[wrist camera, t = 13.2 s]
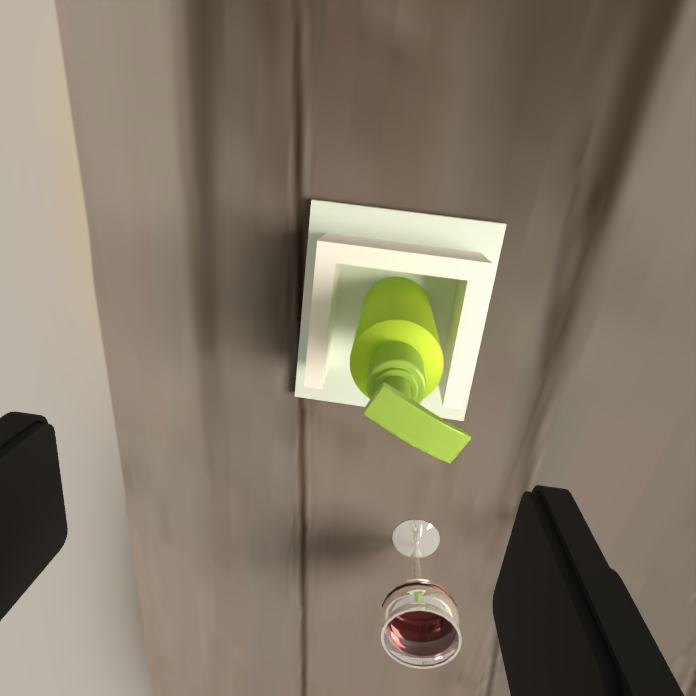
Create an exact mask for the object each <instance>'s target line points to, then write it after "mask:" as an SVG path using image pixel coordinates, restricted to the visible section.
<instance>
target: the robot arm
mask: <svg viewBox="0 0 696 696" xmlns="http://www.w3.org/2000/svg"><path fill="white" fill-rule="evenodd" d="M66 537H67V521H66V513H65V506H64V498H63V491H62V483H61V475H60V468H59V460H58V452H57V445H56V437H55V431H54V428H53V426H52V425H50V424H48V422H47V420H46V418H45V417H43V416H41V415H35V414H28V413H21V412H10V413H7V414H5V415H4V416H2V417H1V418H0V621H1V619H2V618H3V617H4V616H5V615H6V614H7V612H8V611H9V610H10V609H11V608H12V606H13V605H14V604H15V603H16V602H17V600H18V599H19V598H20V597H21V596H22V594H23V593H24V592H25V591H26V590H27V589H28V587H29V586H30V585H31V584H32V583H33V582H34V580H35V579H36V578H37V577H38V576H39V574H40V573H41V572H42V571H43V570H44V568H45V567H46V566H47V565H48V564H49V562H50V561H51V560H52V559H53V558H54V557H55V555H56V554H57V553H58V552H59V551H60V549H61V548H62V546H63V545H64V543H65V540H66ZM493 615H494V620H495V624H496V629H497V634H498V638H499V643H500V648H501V652H502V657H503V661H504V666H505V671H506V675H507V680H508V684H509V689H510V694H511V696H684V695H683V693H682V691H681V689H680V687H679V685H678V683H677V681H676V680H675V678H674V676H673V674H672V672H671V670H670V668H669V667H668V665H667V663H666V661H665V659H664V657H663V655H662V654H661V652H660V650H659V648H658V646H657V644H656V642H655V640H654V639H653V637H652V635H651V633H650V631H649V629H648V627H647V626H646V624H645V622H644V620H643V618H642V616H641V614H640V613H639V611H638V609H637V607H636V605H635V603H634V601H633V599H632V598H631V596H630V594H629V592H628V590H627V588H626V586H625V585H624V583H623V581H622V579H621V578H620V576H619V575H618V573H617V572H616V571H614V570H613V569H611V568H610V567H609V565H608V563H607V562H606V560H605V558H604V556H603V554H602V552H601V550H600V548H599V546H598V544H597V542H596V540H595V539H594V537H593V535H592V533H591V531H590V529H589V527H588V525H587V523H586V521H585V519H584V518H583V516H582V514H581V512H580V510H579V508H578V506H577V504H576V502H575V500H574V498H573V496H572V495H571V493H570V492H569V490H566V489H561V488H554V487H547V486H540V485H537V486H535V487H534V489H533V490H532V492H527V491H526V492H524V494H523V495H522V498H521V502H520V505H519V508H518V512H517V515H516V519H515V522H514V526H513V529H512V532H511V536H510V539H509V543H508V546H507V550H506V553H505V557H504V560H503V563H502V567H501V570H500V574H499V577H498V581H497V584H496V587H495V591H494V595H493Z"/></svg>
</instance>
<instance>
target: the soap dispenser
mask: <svg viewBox="0 0 696 696" xmlns="http://www.w3.org/2000/svg"><path fill="white" fill-rule="evenodd" d="M443 367H444V359H443V353H442V349H441V345H440V341H439V337H438V333H437V329H436V325H435V321H434V317H433V313H432V309H431V305H430V301H429V298H428V296H427V294H426V292H425V291H424V289H423V288H422V287H421V286H420V285H419V284H417V283H416V282H414V281H412V280H410V279H407V278H403V277H391V278H387V279H384V280H382V281H380V282H378V283H377V284H375V285H374V286H373V287H372V288H371V289H370V290H369V292H368V293H367V295H366V297H365V300H364V303H363V307H362V311H361V315H360V319H359V323H358V327H357V330H356V334H355V338H354V342H353V346H352V350H351V354H350V372H351V375H352V378H353V380H354V382H355V384H356V386H357V387H358V389H359V390H360V391H361V392H362V393H363V394H364V395H365V396H366V397H368V398H369V399H370V401H369V402H368V403H367V405H366V406H365V408H364V409H363V414H364V415H365V416H367V417H368V418H370V419H371V420H373V421H374V422H376V423H377V424H379V425H380V426H382V427H383V428H385V429H386V430H388V431H389V432H391V433H393V434H394V435H396V436H397V437H399V438H401V439H402V440H404V441H405V442H407V443H409V444H411V445H412V446H414V447H416V448H418V449H420V450H421V451H423V452H425V453H427V454H429V455H432V456H434V457H436V458H438V459H440V460H443V461H445V462H448V463H451V462H452V461H453V460H454V458H455V457H456V456H457V455H458V454H459V452H460V451H461V450H462V449H463V448H464V446H465V445H466V444H467V443H468V442H469V440H470V439H471V437H470V436H469V435H468V433H467V432H466V431H465V430H463V429H461V428H459V427H457V426H455V425H453V424H452V423H450V422H448V421H446V420H444V419H443V418H441V417H439V416H437V415H436V414H434V413H433V412H431V411H429V410H428V409H426V408H425V407H423V406H421V405H420V403H421V402H422V400H423V399H424V398H426V397H427V396H428V395H429V394H431V393H432V392H433V390H434V389H435V388H436V386H437V385H438V383H439V381H440V379H441V376H442V373H443Z"/></svg>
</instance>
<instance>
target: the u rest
mask: <svg viewBox="0 0 696 696" xmlns="http://www.w3.org/2000/svg"><path fill="white" fill-rule="evenodd" d="M505 229H506V224H505V223H499V222H491V221H483V220H475V219H467V218H459V217H451V216H443V215H435V214H427V213H419V212H411V211H403V210H395V209H387V208H379V207H371V206H363V205H355V204H347V203H339V202H331V201H323V200H315V199H312V200H311V209H310V221H309V232H308V244H307V256H306V268H305V280H304V291H303V303H302V315H301V327H300V338H299V350H298V362H297V374H296V385H295V397H302V398H309V399H316V400H323V401H330V402H336V403H343V404H350V405H357V406H364V407H365V406H366V405H367V403H368V402H369V401H370V399H369V398H368V397H366V396H365V395H364V394H363V393H362V392H361V391H360V390H359V389H358V387H357V386H356V384H355V382H354V380H353V378H352V375H351V372H350V354H351V350H352V346H353V342H354V338H355V334H356V330H357V327H358V323H359V319H360V315H361V311H362V307H363V303H364V300H365V297H366V295H367V293H368V292H369V290H370V289H371V288H372V287H373V286H374V285H375V284H377V283H378V282H380V281H382V280H384V279H387V278H391V277H403V278H407V279H410V280H412V281H414V282H416V283H417V284H419V285H420V286H421V287H422V288H423V289H424V291H425V292H426V294H427V296H428V298H429V301H430V305H431V309H432V313H433V317H434V321H435V325H436V329H437V333H438V337H439V341H440V345H441V349H442V353H443V359H444V367H443V373H442V376H441V379H440V381H439V383H438V385H437V386H436V388H435V389H434V390H433V392H432V393H431V394H429V395H428V396H427V397H426V398H424V399H423V400H422V402H421V403H420V405H421V406H423V407H425V408H426V409H428V410H429V411H431V412H433V413H434V414H436V415H437V416H439V417H441V418H446V419H453V420H460V421H464V416H465V412H466V407H467V403H468V398H469V393H470V389H471V384H472V380H473V375H474V371H475V366H476V361H477V357H478V352H479V348H480V343H481V339H482V334H483V329H484V325H485V320H486V316H487V311H488V307H489V302H490V297H491V293H492V288H493V284H494V279H495V275H496V270H497V265H498V261H499V256H500V252H501V247H502V243H503V238H504V233H505Z"/></svg>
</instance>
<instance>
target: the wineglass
mask: <svg viewBox="0 0 696 696" xmlns="http://www.w3.org/2000/svg"><path fill="white" fill-rule="evenodd" d="M392 540H393V544H394V546H395V547H396V549H397V550H398V551H399V552H400V553H402V554H403V555H406V556H408V557H413V558H414V579H409V580H406V581H403V582H401V583H398V584H397V585H396V586H394V587H393V588H392V589H391V590H390V592H389V593H388V595H387V597H386V598H385V600H384V602H383V604H382V613H381V622H382V626H383V629H382V633H381V641H382V644H383V647H384V649H385V650H386V652H387V653H388V654H389V656H390V657H392V658H393V659H394V660H396V661H397V662H399V663H401V664H404V665H406V666H409V667H413V668H421V669H426V668H435V667H438V666H441V665H444V664H446V663H448V662H449V661H450V660H452V659H453V658H454V657H455V656H456V655H457V653H458V652H459V650H460V647H461V642H462V638H461V634H460V630H459V629H458V628H459V621H460V618H459V614H458V610H457V606H456V603H455V602H454V600H453V599H452V597H451V596H450V594H449V593H448V591H447V590H446V589H445V588H443V587H442V586H441V585H439V584H438V583H435V582H433V581H430V580H427V579H422V576H421V567H420V557H425V556H428V555H430V554H432V553H433V552H434V551H435V550H436V549H437V547H438V545H439V541H440V537H439V533H438V531H437V530H436V528H435V527H434V526H432V525H431V524H430V523H428V522H425V521H423V520H415V519H414V520H407V521H405V522H403V523H401V524H400V525H399V526H397V527H396V529H395V530H394V532H393V537H392Z"/></svg>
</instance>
